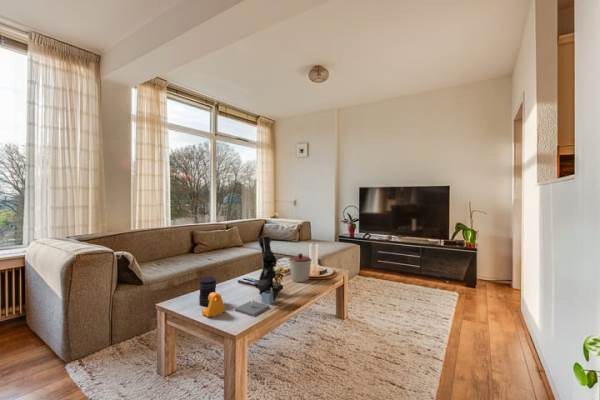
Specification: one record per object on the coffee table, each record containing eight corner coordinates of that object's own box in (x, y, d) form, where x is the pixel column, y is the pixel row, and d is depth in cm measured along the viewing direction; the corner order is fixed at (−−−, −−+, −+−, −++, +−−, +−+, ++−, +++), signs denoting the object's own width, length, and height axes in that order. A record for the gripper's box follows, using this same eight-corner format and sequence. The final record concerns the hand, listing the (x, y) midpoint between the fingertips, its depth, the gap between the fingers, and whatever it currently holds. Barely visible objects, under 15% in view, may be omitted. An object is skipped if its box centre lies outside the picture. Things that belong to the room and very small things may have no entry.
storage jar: (198, 307, 168) (198, 282, 168) (199, 301, 177) (199, 277, 177) (215, 305, 171) (216, 281, 170) (216, 299, 180) (216, 276, 180)
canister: (302, 275, 234) (303, 250, 233) (316, 281, 219) (316, 254, 218) (284, 279, 224) (284, 252, 223) (296, 285, 209) (297, 257, 208)
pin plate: (235, 310, 163) (235, 301, 163) (251, 302, 175) (251, 294, 175) (253, 316, 156) (253, 306, 156) (269, 308, 168) (269, 298, 168)
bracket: (218, 308, 166) (218, 288, 166) (225, 312, 162) (225, 291, 161) (201, 314, 158) (201, 293, 158) (208, 318, 154) (208, 296, 153)
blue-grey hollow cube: (261, 302, 176) (261, 293, 176) (267, 299, 181) (267, 290, 181) (269, 304, 173) (269, 294, 173) (275, 301, 178) (275, 292, 178)
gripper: (248, 275, 175) (248, 300, 175) (272, 280, 165) (272, 306, 166) (260, 270, 184) (259, 294, 185) (283, 275, 175) (283, 300, 175)
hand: (268, 299), depth 177 cm, fingers open, 9 cm apart
